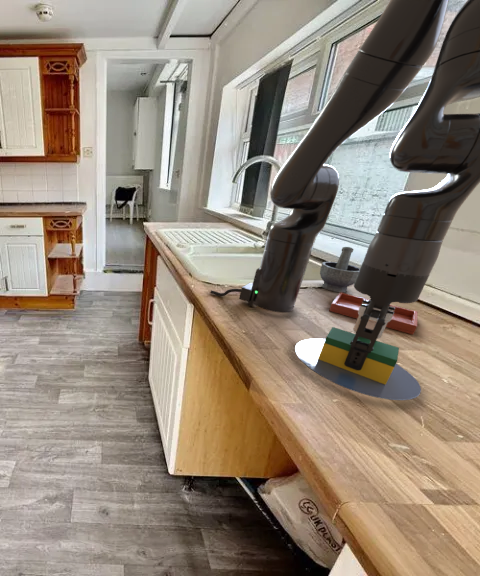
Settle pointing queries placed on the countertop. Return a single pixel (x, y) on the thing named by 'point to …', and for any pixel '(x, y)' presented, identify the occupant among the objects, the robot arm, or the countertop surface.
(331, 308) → the sponge dish
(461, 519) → the countertop surface
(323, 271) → the mortar and pestle
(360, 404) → the countertop surface
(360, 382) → the mirror
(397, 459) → the countertop surface
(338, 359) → the sponge
